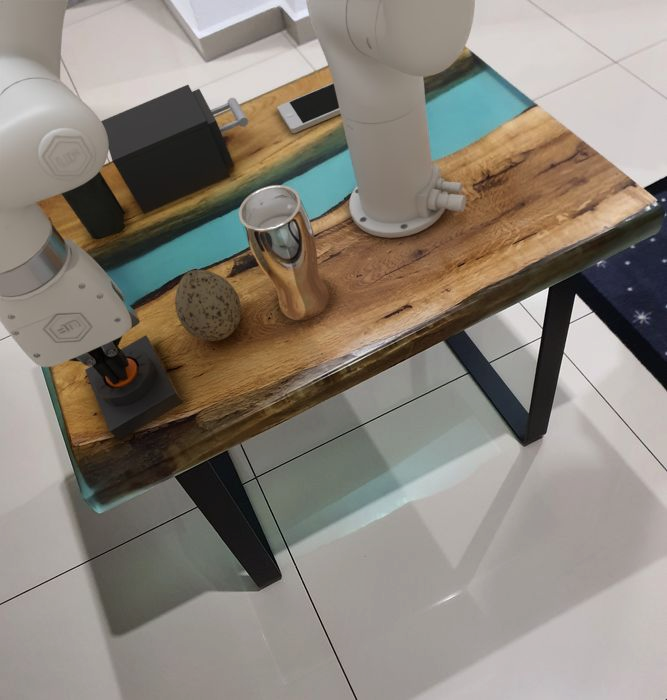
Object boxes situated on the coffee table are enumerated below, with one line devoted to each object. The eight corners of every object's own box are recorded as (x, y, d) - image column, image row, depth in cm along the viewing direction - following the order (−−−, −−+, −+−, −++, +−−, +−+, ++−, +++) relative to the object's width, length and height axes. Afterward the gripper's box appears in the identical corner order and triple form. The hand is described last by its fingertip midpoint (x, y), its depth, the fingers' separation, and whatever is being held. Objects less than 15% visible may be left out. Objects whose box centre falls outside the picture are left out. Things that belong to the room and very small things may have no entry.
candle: (92, 218, 95) (-16, 60, 76) (124, 207, 95) (25, 47, 75) (91, 241, 92) (-21, 83, 72) (125, 230, 92) (22, 69, 72)
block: (183, 402, 72) (168, 383, 69) (119, 440, 71) (101, 423, 68) (153, 345, 78) (139, 325, 75) (93, 379, 77) (76, 361, 74)
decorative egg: (237, 297, 80) (208, 240, 72) (259, 334, 76) (231, 278, 68) (185, 325, 79) (150, 270, 71) (205, 364, 75) (170, 311, 67)
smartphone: (278, 110, 101) (276, 105, 101) (367, 73, 102) (366, 67, 101) (292, 134, 97) (291, 129, 96) (386, 95, 98) (385, 89, 97)
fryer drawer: (243, 122, 100) (226, 76, 94) (261, 154, 94) (245, 108, 88) (142, 165, 99) (118, 122, 93) (155, 200, 93) (130, 156, 87)
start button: (147, 382, 72) (140, 373, 71) (118, 399, 71) (110, 390, 70) (137, 361, 74) (130, 352, 73) (108, 377, 74) (101, 369, 72)
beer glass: (309, 332, 74) (272, 240, 63) (265, 310, 78) (222, 218, 66) (344, 290, 77) (316, 194, 65) (300, 271, 80) (265, 176, 68)
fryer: (211, 139, 101) (188, 84, 93) (230, 176, 94) (206, 120, 87) (130, 174, 100) (100, 121, 92) (143, 214, 93) (112, 160, 86)
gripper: (-59, 321, 54) (59, 427, 69) (108, 249, 55) (189, 368, 70) (-59, 265, 59) (51, 375, 73) (95, 199, 60) (174, 321, 74)
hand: (118, 372), depth 71 cm, fingers closed
